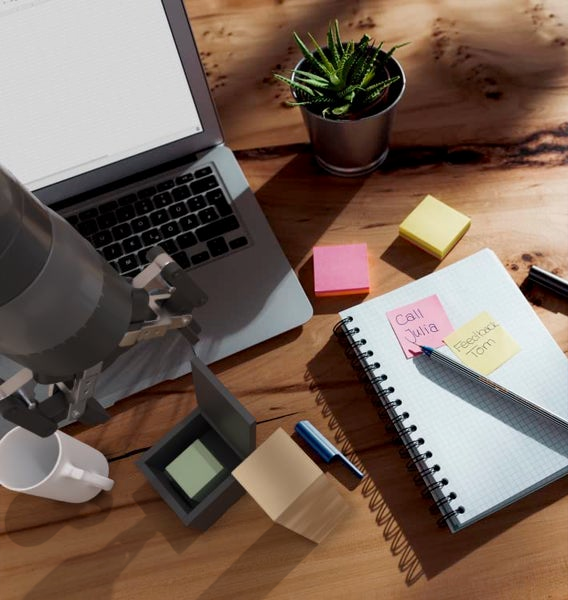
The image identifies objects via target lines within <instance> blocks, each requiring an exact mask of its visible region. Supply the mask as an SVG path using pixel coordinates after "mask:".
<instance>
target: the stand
mask: <svg viewBox="0 0 568 600" xmlns="http://www.w3.org/2000/svg"><path fill="white" fill-rule="evenodd" d="M231 474H232V475H233V476H234V477H235V478H236V479H237V480H238V482H239V483H240V484H241V485H242V486H243V487H244V488H245V489H246V491H247V492H246V493H248V495H250V496H251V497H252V499H253V500H254V501H255V502H256V503H257V504H258V506H259V507H260V508H261V509H262V510H263V511H264V512H265V513H266V514H267V515H268V517H269V518H270V519H271V520H272V521H273V522H274V523H276V524H278V525H281V526H283V527H284V528H286V529H289V530H291V531H292V532H293V533H294V532H295V533H296V534H298V535H300V536H302V537H303V538H306V539H308V540H310V541H312V542H314V543H316V544H318V545H319V544H321V543H322V541H324V539H325V538H327V536H329V535H330V533H331V532H332V531H333V530H334V529H335V528H336V527H337V526H338V525H339V524H340V523H341V522H342V521H343V520H344V519H345V518H347V516H348V515H349V514H350V513H352V509H351V508H350V506H349V505H348V504H347V502H346V501H345V500H344V498H343V497H342V495H341V494H340V493H339V492H338V490H337V489H336V488H335V486H334V485H333V484H332V482H331V481H330V479H329V478H328V476H327V475H326V474H325V473H324V472H323V470H321V468H320V467H319V466H318V465H317V464H316V463H315V462H314V461H313V460H312V458H310V457H309V456H308V455H307V453H305V451H304V450H303V449H302V448H301V447H300V446H299V445H298V444H297V443H296V442H295V441H294V440H293V438H292V437H291V436H290V435H289V434H288V433H287V432H286V431H285V430H284V429H283V428H282V427H281V426H280V427H278V428H277V429H276V430H275V431H274V432H273V433H272V434H270V435H269V437H268V438H267V439H265V440H264V441H263V443H261V444H260V445H259V446H258V447H256V450H255V451H254V452H253V453H252V454H251V455H250V456H249V457H248V458H246V459H245V460H244V461H243V462H242V463H241V464H240V465H239V466H238V467H237V468H236V469H235V470H234V471H233V472H232V473H231Z"/></svg>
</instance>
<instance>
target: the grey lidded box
mask: <svg viewBox="0 0 568 600" xmlns="http://www.w3.org/2000/svg"><path fill="white" fill-rule="evenodd" d="M197 439H199V440H200V441H202V442H203V443H204V444H206V445H207V446H209V447H210V448H211V449H212V450H213V452H214V453H215V454H216V455H217V456H218V457H219V458H220V459H221V461H222V462H223V463H224V464H225V465H226V466H227V467H228V468H229V470H230V471H231V472H233V471H234V470H235V469H236V468H237V467H238V466H239V465H240V464H241V463H242V462H243V461H244V460H245V459H246V458H245V457H244V456H243V454H242V453H241V452H240V451H239V450H238V449H237V448H236V447H235V446H234V445H233V443H232V442H231V441H230V440H229V439H228V438H227V437H226V436H225V435H224V433H223V432H222V431H221V430H220V429H219V428H218V427H217V426H216V425H215V423H214V422H213V421H212V420H211V419H210V418H209V417H208V416H207V415H206V413H205V412H204V411H203V410H202V409H201V408H200V407H199V406H198V405H197V406H196V407H195V408H194V409H193V410H191V411H190V412H189V413H188V414H186V415H185V417H183V418H182V419H181V420H180V421H179V422H178V423H177V424H176V425H174V426H173V427H172V428H171V429H170V430H169V431H168V432H167V433H166V434H165V435H163V436H162V437H161V438H160V439H159V440H158V441H156V442H155V443H154V444H153V445H152V446H151V447H150V448H148V450H146V451H145V452H144V453H143V454H142V455H141V456H140V457H138V458H137V459H136V460H135V461H134V462H133V464H134V465H135V466H136V468H137V469H138V470H139V471H140V473H141V474H142V475H143V476H144V477H145V479H146V480H147V481H148V483H149V484H151V486H152V487H153V488H154V490H155V491H156V492H157V493H158V494H159V496H160V497H161V498H162V499H163V501H165V503H166V504H167V506H168V507H169V508H170V509H171V511H173V513H174V514H175V515H176V516H177V517H178V519H180V521H181V522H182V523H183V525H184V526H185V527H187V528H191V529H194V530H197V531H200V532H201V531H202V532H207V531H208V530H209V529H210V528H211V527H212V526H213V525H214V524H215V523H216V522H218V520H219V519H220V518H222V516H223V515H224V514H226V513H227V512H228V511H229V510H230V509H231V508H232V507H233V506H234V505H235V504H236V503H237V502H238V501H239V500H241V498H242V497H244V495H245V494H247V493H248V492H247V491H246V489H245V488H244V487H243V486H242V485H241V484H240V483H239V482H238V480H237V479H236V478H235V477H234V476H233V475H232V474H231V475H230V476H229V477H227V478H226V479H225V480H224V481H223V482H222V483H221V484H220V485H219V486H218V487H217V488H216V489H215V490H214V491H213V492H211V493H210V494H209V495H208V496H207V497H206V498H205V499H204V500H203V501H202V502H198V501H196V500H193V499H191V498H190V497H189V496H188V495H187V494H186V492H185V491H184V490H183V489H182V488H181V487H180V485H179V484H178V483H177V482H176V481H175V480H174V478H173V477H172V476H171V475H170V474H169V472H168V471H167V470H166V469H165V468H166V467H167V466H168V465H170V464H171V463H172V462H173V461H174V460H175V459H176V458H177V457H178V456H179V455H181V454H182V453H183V452H184V451H185V450H186V449H187V448H188V447H189V446H190V445H192V444H193V443H194V442H195V441H196V440H197Z"/></svg>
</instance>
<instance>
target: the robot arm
mask: <svg viewBox="0 0 568 600" xmlns="http://www.w3.org/2000/svg"><path fill="white" fill-rule="evenodd" d="M145 259H146V260H147V261H148V262H149V263H150V264H148V266H146V267H145V268H144V269H143V270H142V271H141V272H140V273H138V274H137V275H136V276H135V277H131V276H122V275H121V274H120V273H119V272H118V271H117V270H116V269H115V268H114V267H113V266H112V265H111V264H110V262H108V261H107V259H105V258H104V256H102V255H101V254H100V253H99V252H98V251H97V250H96V249H95V247H94V245H93V244H92V243H91V242H90V241H89V240H88V239H86V238H84V236H83V235H82V234H81V233H79V231H77V229H75V227H74V226H73V225H72V224H71V223H69V222H68V221H67V220H66V218H64V217H63V216H62V215H60V214H59V213H57V212H56V211H54V209H52V208H50V207H48V206H47V205H46V204H44V203H43V202H42V201H41V200H39V198H38V197H37V196H35V194H34V193H32V192H31V191H30V189H29V188H27V187H26V186H25V184H24V183H23V182H21V180H20V179H19V178H18V177H16V176H15V174H14V173H13V172H11V171H10V170H9V169H8V168H7V167H6V166H5V165H4V164H3V163H2V162H0V355H2V356H3V357H5V358H7V359H9V360H11V361H13V362H14V363H16V364H18V365H20V366H23V368H22V369H20V370H19V371H18V372H16V373H15V374H14V375H13V376H11V377H9V378H8V379H7V380H5V379H3V378H1V377H0V416H1V417H2V418H3V419H4V420H6V421H8V422H10V423H12V424H14V425H15V426H20V427H22V428H24V429H26V430H28V431H30V432H32V433H34V434H36V435H38V436H40V437H42V438H46V437H49V436H51V435H52V434H54V433H55V432H56V431H57V430H59V425H58V424H59V423H61V422H63V421H65V420H68V421H69V422H73V421H76V422H79V423H82V424H84V425H86V426H94V425H96V423H99V424H102V425H105V424H106V423H107V422H109V421H110V420H111V419H112V416H111V415H110V414H109V412H108V411H107V410H106V409H105V408H104V406H103V405H102V404H101V403H100V401H98V400H97V399H96V398H95V397H93V396H94V393H95V388H96V384H97V380H98V375H99V374H100V373H101V374H102V373H104V372H105V371H106V370H108V369H109V368H110V367H111V366H112V365H113V363H115V362H116V360H117V359H118V358H120V357H121V356H122V355H124V354H126V353H127V352H128V351H130V350H132V348H134V347H135V346H136V345H137V344H138V343H139V342H140V341H146V340H151V339H156V338H162V337H164V336H165V335H166V333H167V332H168V331H170V330H177V331H178V332H179V333H180V334H181V335H182V336H183V337H184V338H185V339H186V340H187V341H188V342H189V343H190V344H191V345H192V346H193V347H194V346H195V345H197V344H198V343H199V342H200V341H201V339H200V338H199V336H198V335H199V334H200V333H201V332H202V326H201V325H200V324H199V323H198V322H197V320H196V319H195V318H194V317H193V316H192V313H193V310H194V309H195V308H196V309H198V308H199V309H200V308H201V307H204V306H205V305H206V304H207V303H208V301H209V299H210V295H208V293H207V292H205V290H204V289H203V288H202V287H201V286H199V284H198V283H197V282H196V281H195V280H194V279H193V278H192V277H191V276H190V275H189V274H188V273H187V272H186V271H185V270H184V268H182V267H181V266H180V265H179V263H177V261H176V260H174V259H173V258H172V257H171V256H170V255H169V253H168V252H166V251H165V249H163V247H162V246H160V245H155V246H153V247H151V248H150V249H149V250H148V251H147V253H146V254H145ZM156 289H157V290H160V291H163V290H166V291H168V292H169V293H162V294H153V295H151V294H149V292H151V291H152V290H156ZM38 384H39V385H44V386H49V387H48V393H47V395H48V397H47V398H45V399H44V400H42V401H39V400H37V399H36V398H35V397H36V392H35V388H36V387H37V385H38Z"/></svg>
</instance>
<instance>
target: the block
mask: <svg viewBox="0 0 568 600" xmlns="http://www.w3.org/2000/svg"><path fill="white" fill-rule="evenodd" d="M165 469H166V470H167V471H168V472H169V474H170V475H171V476H172V477H173V478H174V480H175V481H176V482H177V483H178V484H179V485H180V487H181V488H182V489H183V490H184V491H185V492H186V494H187V495H188V496H189V497H190V498H191V499H193V500H196V501H198V502H202V501H203V500H204V499H205V498H206V497H207V496H208V495H209V494H210V493H211V492H213V491H214V490H215V489H216V488H217V487H218V486H219V485H220V484H221V483H222V482H223V481H224V480H225V479H226V478H227V477H229V476H230V475H231V473H232V472H231V471H230V470H229V468H228V467H227V466H226V465H225V464H224V463H223V462H222V461H221V459H220V458H219V457H218V456H217V455H216V454H215V453H214V452H213V450H212V449H211V448H210V447H209V446H207V445H206V444H204V443H203V442H202V441H200V440H199V439H197V440H196V441H195V442H194V443H193V444H192V445H190V446H189V447H188V448H187V449H186V450H185V451H184V452H183V453H182V454H181V455H179V456H178V457H177V458H176V459H175V460H174V461H173V462H172V463H171V464H170V465H168V466H167V467H166V468H165Z"/></svg>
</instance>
